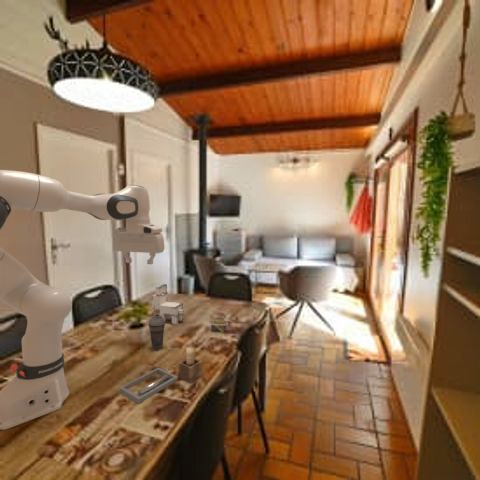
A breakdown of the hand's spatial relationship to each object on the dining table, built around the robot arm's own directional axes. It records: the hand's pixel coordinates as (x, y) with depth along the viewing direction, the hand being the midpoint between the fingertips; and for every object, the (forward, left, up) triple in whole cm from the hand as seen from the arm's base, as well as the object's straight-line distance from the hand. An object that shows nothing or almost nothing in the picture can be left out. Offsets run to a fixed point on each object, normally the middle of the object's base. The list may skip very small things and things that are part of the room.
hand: (139, 263), depth 122 cm
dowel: (+5, -22, -42) cm, 47 cm away
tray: (-8, -15, -42) cm, 45 cm away
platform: (+46, -2, -43) cm, 63 cm away
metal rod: (-8, -17, -42) cm, 46 cm away
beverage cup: (+14, +8, -43) cm, 46 cm away
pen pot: (+5, -22, -42) cm, 48 cm away
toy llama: (+40, +29, -43) cm, 65 cm away
